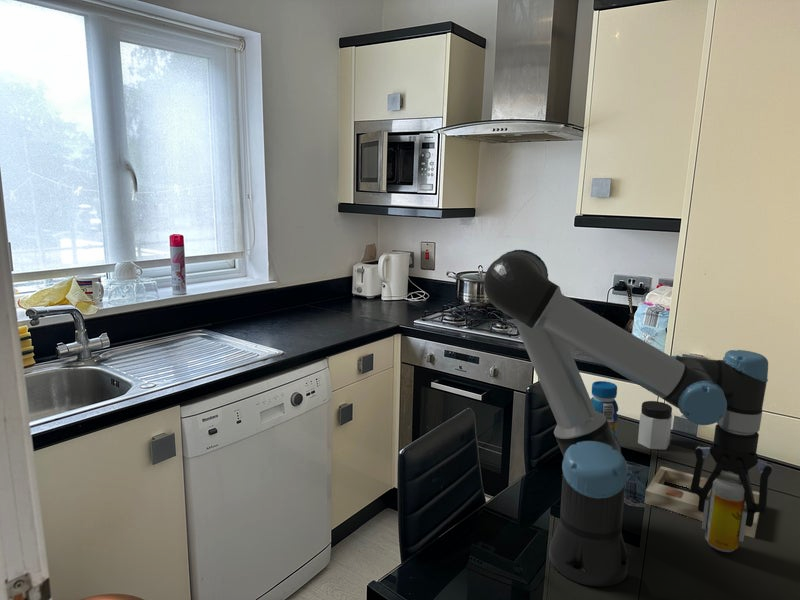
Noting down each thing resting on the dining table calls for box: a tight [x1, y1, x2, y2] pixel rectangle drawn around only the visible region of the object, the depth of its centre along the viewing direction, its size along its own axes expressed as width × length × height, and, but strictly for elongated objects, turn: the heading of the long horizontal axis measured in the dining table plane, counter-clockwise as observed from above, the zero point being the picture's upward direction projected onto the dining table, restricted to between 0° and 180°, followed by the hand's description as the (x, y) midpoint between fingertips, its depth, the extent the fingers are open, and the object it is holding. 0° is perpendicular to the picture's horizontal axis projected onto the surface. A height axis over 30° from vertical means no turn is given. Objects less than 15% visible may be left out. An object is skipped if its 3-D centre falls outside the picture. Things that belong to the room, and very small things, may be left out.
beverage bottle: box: [590, 380, 619, 436], centre depth 161 cm, size 8×8×20 cm
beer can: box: [704, 471, 745, 553], centre depth 116 cm, size 6×6×15 cm
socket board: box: [644, 465, 761, 539], centre depth 134 cm, size 22×16×4 cm
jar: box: [637, 400, 673, 451], centre depth 166 cm, size 9×8×12 cm
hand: (722, 531), depth 117 cm, fingers closed on beer can, 6 cm apart
